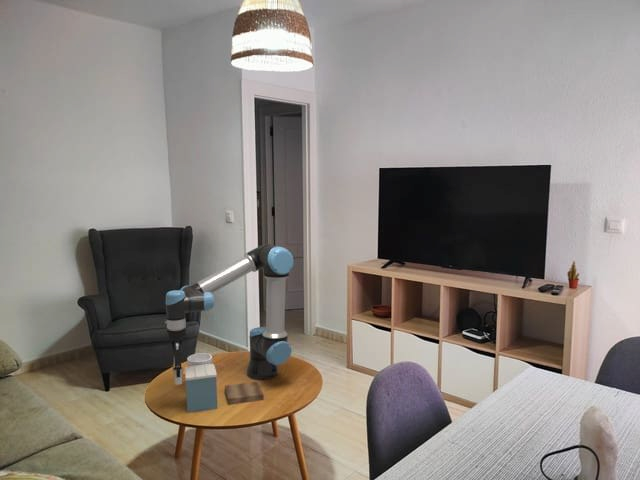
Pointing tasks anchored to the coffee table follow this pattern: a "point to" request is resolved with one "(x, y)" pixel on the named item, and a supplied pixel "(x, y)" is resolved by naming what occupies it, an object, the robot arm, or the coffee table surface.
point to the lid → (197, 372)
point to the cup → (199, 359)
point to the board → (243, 393)
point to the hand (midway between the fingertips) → (178, 377)
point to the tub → (201, 394)
